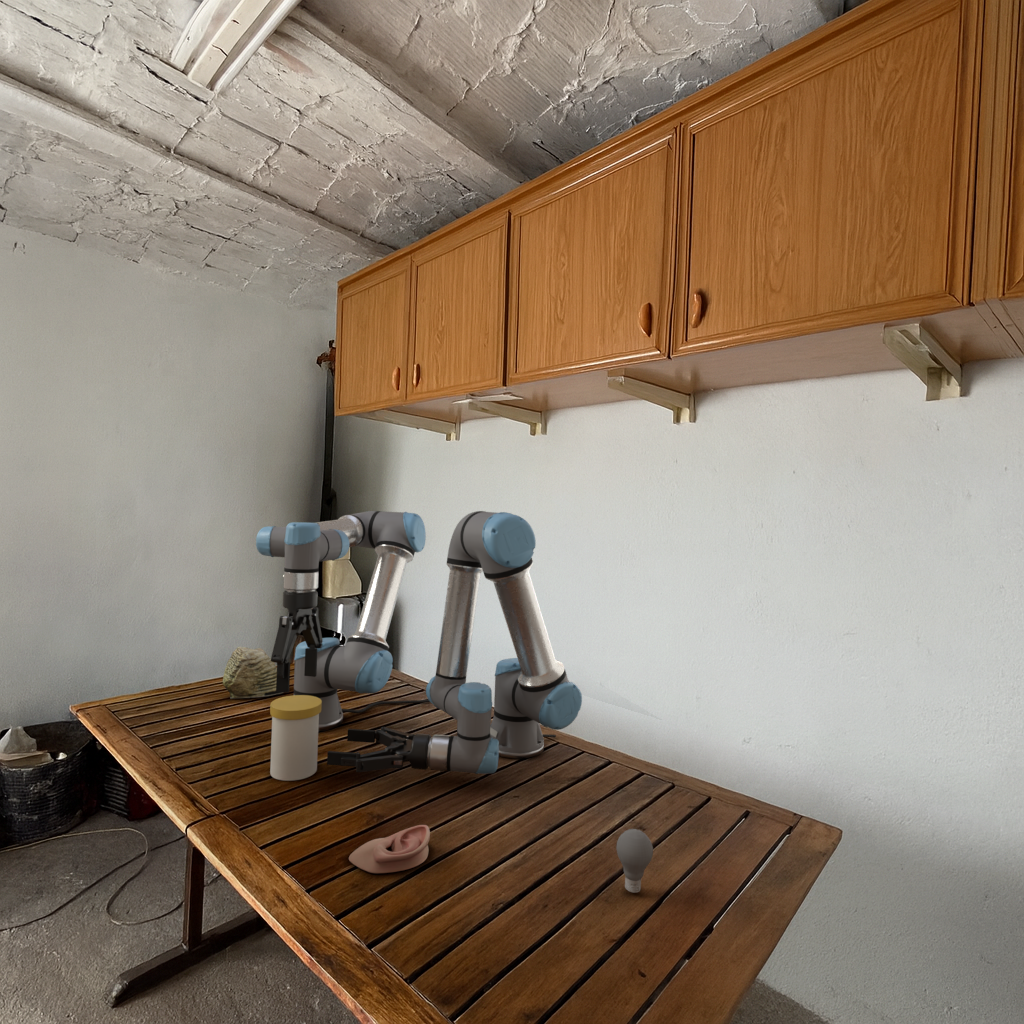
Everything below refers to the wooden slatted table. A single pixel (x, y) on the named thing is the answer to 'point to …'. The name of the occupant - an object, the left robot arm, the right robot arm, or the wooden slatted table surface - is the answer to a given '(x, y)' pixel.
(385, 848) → the anatomical model
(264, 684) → the fossil
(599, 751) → the wooden slatted table surface
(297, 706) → the lid
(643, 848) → the light bulb
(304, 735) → the jar
